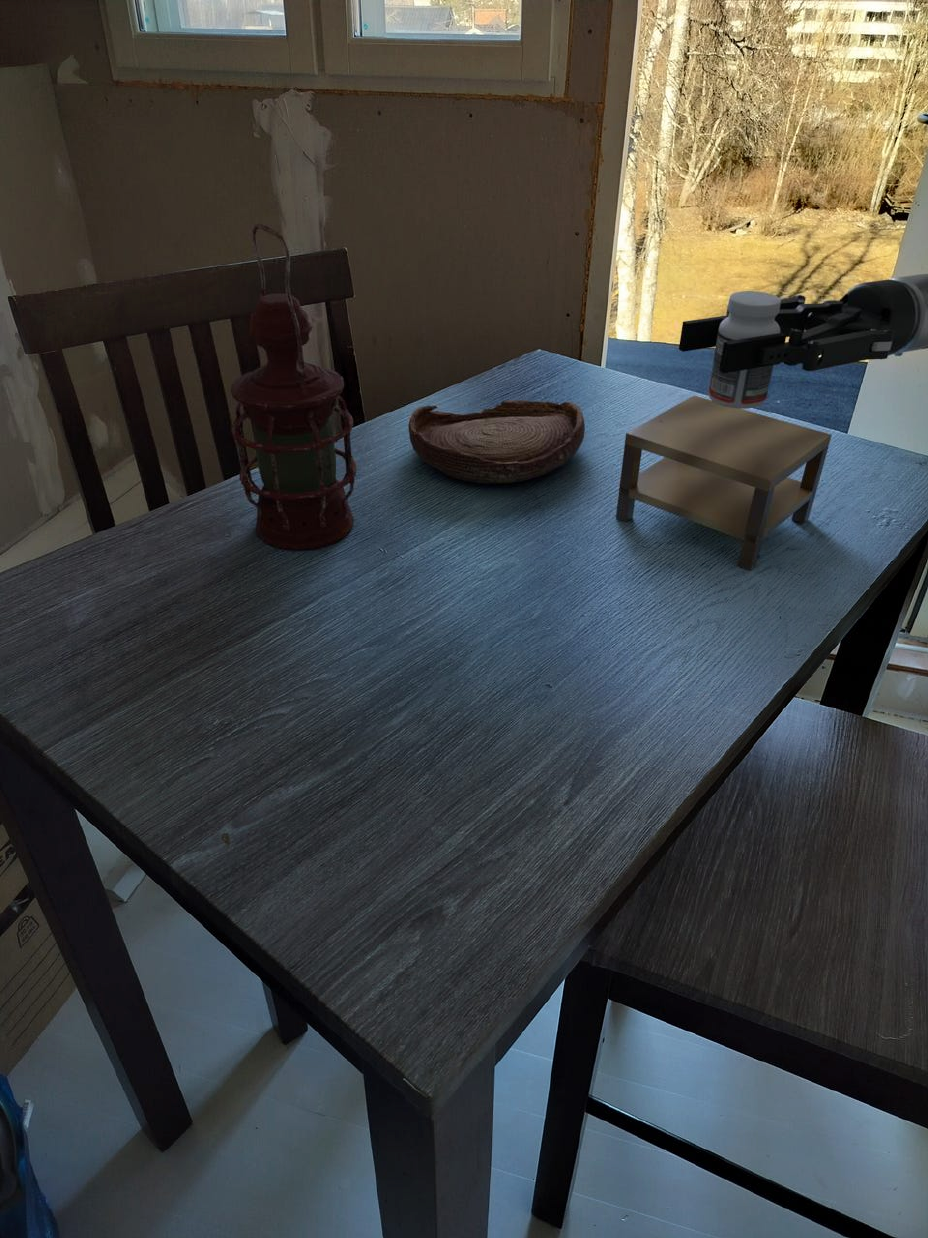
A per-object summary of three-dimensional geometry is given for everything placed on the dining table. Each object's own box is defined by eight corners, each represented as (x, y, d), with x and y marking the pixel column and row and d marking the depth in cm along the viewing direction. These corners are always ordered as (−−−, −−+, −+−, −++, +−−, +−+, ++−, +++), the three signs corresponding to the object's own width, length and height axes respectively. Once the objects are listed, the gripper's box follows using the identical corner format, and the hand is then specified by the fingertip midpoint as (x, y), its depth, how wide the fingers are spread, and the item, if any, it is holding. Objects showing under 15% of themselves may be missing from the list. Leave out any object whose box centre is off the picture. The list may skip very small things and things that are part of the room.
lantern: (381, 533, 91) (362, 231, 73) (275, 568, 85) (226, 249, 68) (330, 489, 99) (302, 207, 81) (230, 517, 93) (176, 222, 76)
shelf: (808, 519, 94) (832, 434, 88) (749, 570, 85) (771, 480, 79) (680, 475, 102) (693, 395, 96) (615, 518, 94) (625, 432, 88)
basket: (526, 408, 118) (528, 373, 116) (620, 462, 105) (625, 425, 102) (382, 444, 109) (380, 407, 106) (465, 509, 95) (465, 469, 92)
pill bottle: (762, 390, 87) (784, 290, 82) (768, 412, 83) (792, 308, 77) (705, 386, 88) (722, 287, 82) (708, 408, 84) (727, 304, 78)
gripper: (950, 383, 83) (759, 421, 76) (816, 327, 97) (643, 354, 89) (978, 305, 79) (777, 336, 71) (833, 258, 92) (652, 280, 85)
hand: (703, 346), depth 80 cm, fingers closed on pill bottle, 6 cm apart
